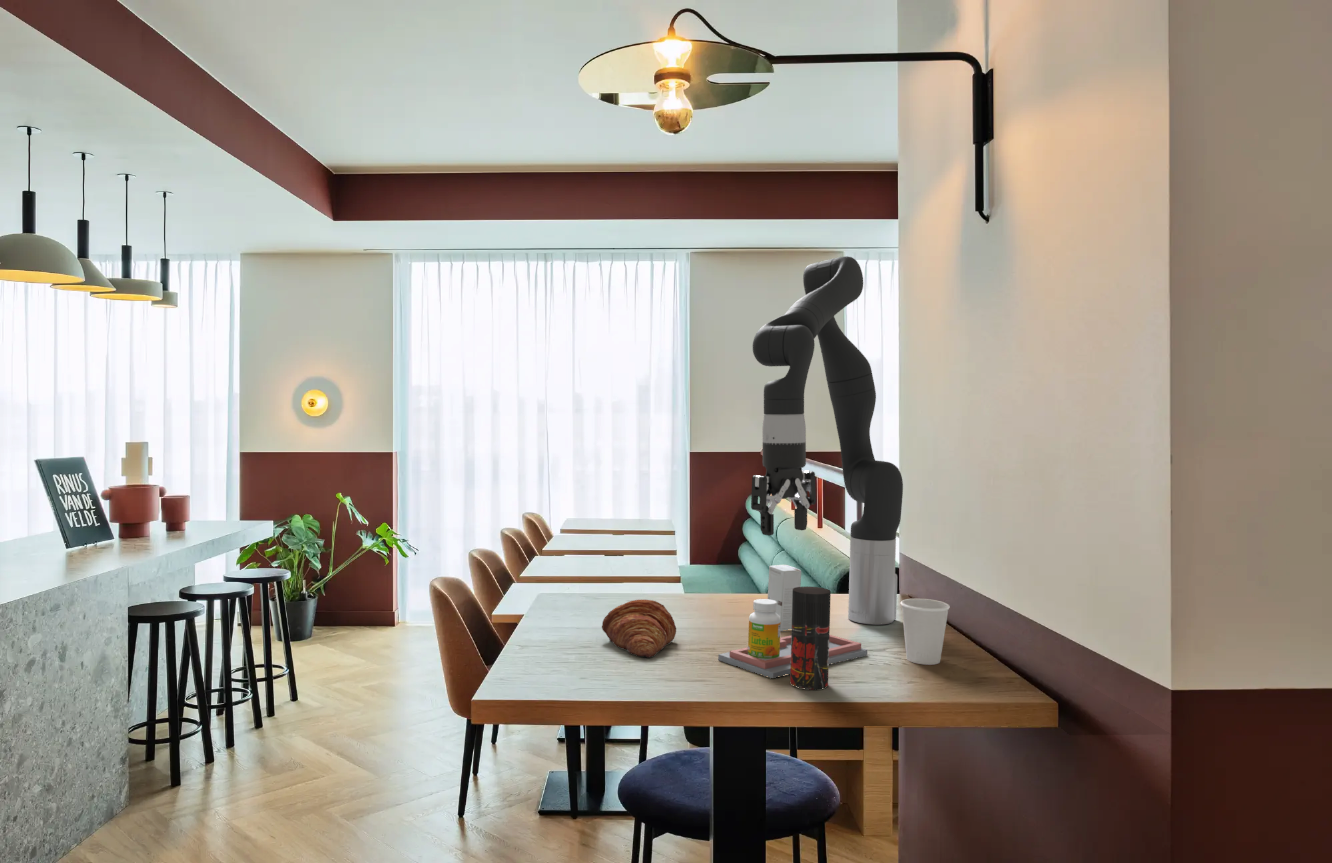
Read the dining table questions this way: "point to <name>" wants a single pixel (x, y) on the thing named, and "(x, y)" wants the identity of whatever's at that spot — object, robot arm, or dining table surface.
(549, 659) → the dining table surface
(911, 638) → the dixie cup
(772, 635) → the supplement bottle
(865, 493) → the robot arm
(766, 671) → the pink-rimmed grey tray
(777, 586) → the skincare box
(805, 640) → the deodorant
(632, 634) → the pastry
